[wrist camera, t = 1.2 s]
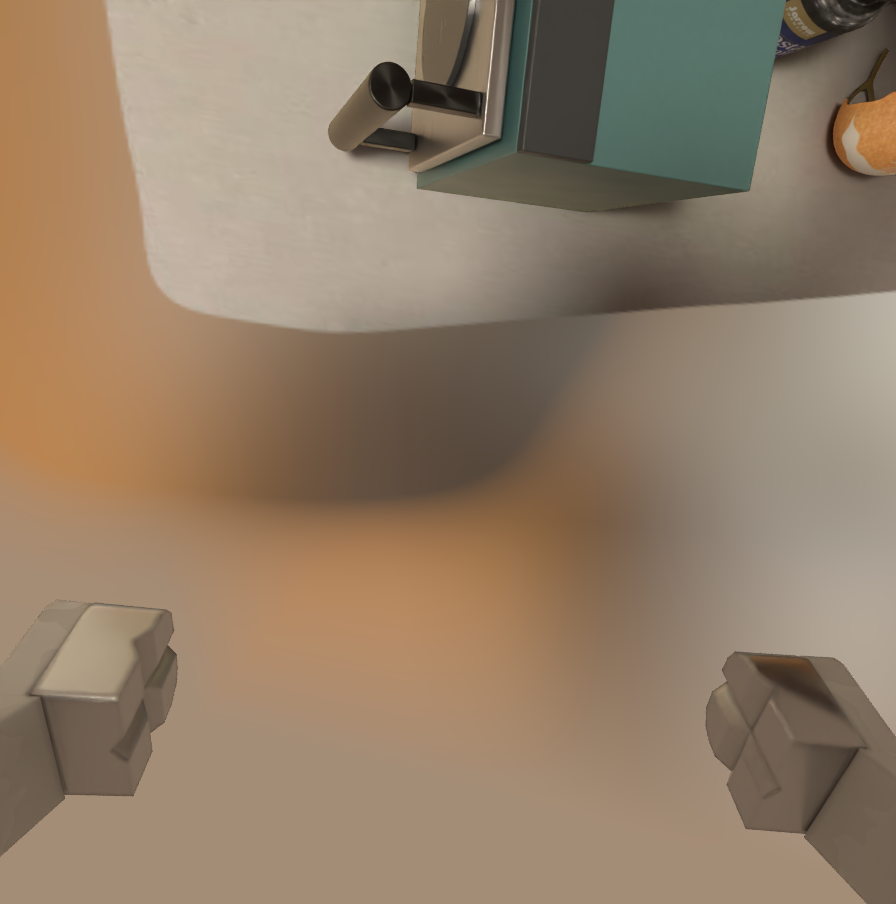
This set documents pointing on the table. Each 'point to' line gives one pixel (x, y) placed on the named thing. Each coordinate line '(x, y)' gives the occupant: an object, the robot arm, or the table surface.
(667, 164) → the washer
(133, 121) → the table surface
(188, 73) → the table surface
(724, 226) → the table surface
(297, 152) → the table surface
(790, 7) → the pill bottle
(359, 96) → the washer door
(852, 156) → the orange twig figurine
